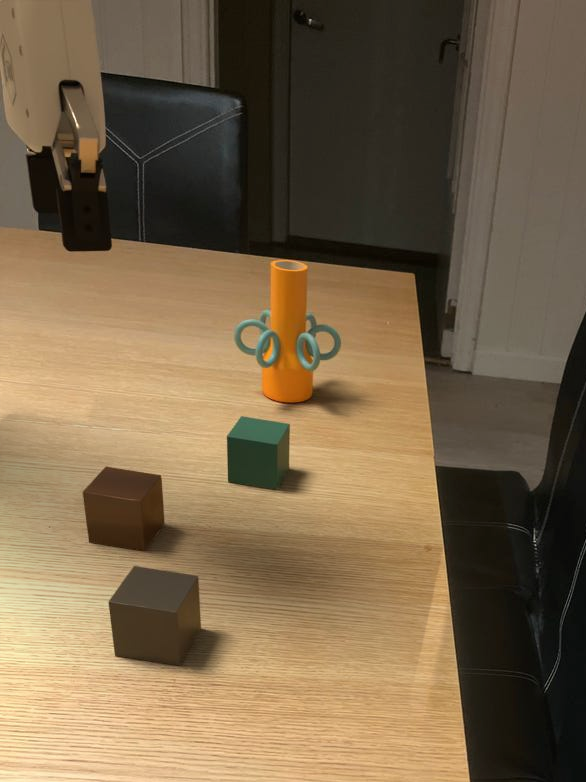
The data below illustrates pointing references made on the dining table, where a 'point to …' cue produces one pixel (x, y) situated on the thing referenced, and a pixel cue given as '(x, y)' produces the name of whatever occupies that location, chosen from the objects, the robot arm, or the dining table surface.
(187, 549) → the dining table surface
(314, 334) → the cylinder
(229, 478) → the teal block
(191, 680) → the dining table surface
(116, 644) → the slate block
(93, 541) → the walnut block
